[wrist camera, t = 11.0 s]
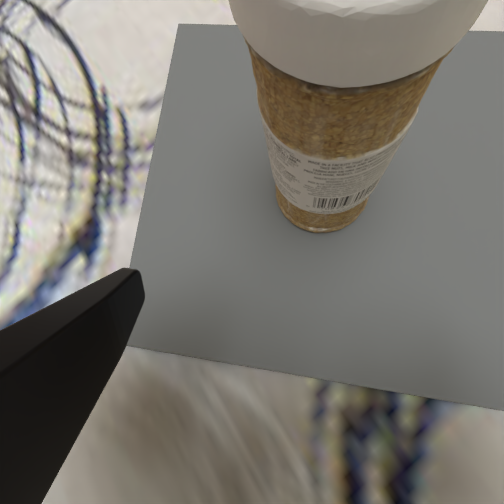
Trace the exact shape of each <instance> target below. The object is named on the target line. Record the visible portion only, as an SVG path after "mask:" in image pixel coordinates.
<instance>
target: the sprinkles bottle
mask: <svg viewBox="0 0 504 504" xmlns="http://www.w3.org/2000/svg"><path fill="white" fill-rule="evenodd" d="M487 1H488V0H229V4H230V8H231V11H232V14H233V18H234V20H235V22H236V24H237V26H238V28H239V30H240V31H241V33H242V34H243V37H244V39H245V42H246V44H247V46H248V48H249V53H250V57H251V60H252V67H253V74H254V77H255V81H256V84H257V101H258V106H259V111H260V115H261V120H262V125H263V129H264V134H265V139H266V144H267V149H268V154H269V159H270V164H271V169H272V174H273V178H274V180H275V183H276V198H277V202H278V205H279V207H280V209H281V211H282V213H283V214H284V216H285V217H286V218H287V219H289V220H290V221H291V222H292V223H293V224H294V225H296V226H298V227H299V228H301V229H304V230H307V231H310V232H315V233H322V232H324V233H327V232H331V231H337V230H340V229H342V228H344V227H346V226H347V225H349V224H351V223H352V222H353V221H355V220H356V219H357V217H358V216H359V214H360V213H361V212H362V211H363V210H364V208H365V206H366V204H367V202H368V198H369V195H370V194H371V193H372V191H373V190H374V189H375V187H376V186H377V184H378V182H379V180H380V179H381V177H382V175H383V174H384V172H385V170H386V168H387V167H388V165H389V163H390V162H391V160H392V158H393V156H394V154H395V153H396V151H397V149H398V147H399V146H400V144H401V142H402V140H403V139H404V137H405V135H406V133H407V132H408V130H409V128H410V126H411V124H412V122H413V120H414V119H415V117H416V115H417V113H418V107H419V104H420V101H421V99H422V97H423V96H424V94H425V92H426V90H427V88H428V86H429V84H430V82H431V80H432V78H433V77H434V75H435V73H436V71H437V69H438V67H439V66H440V64H441V62H442V60H443V59H444V58H445V57H446V56H447V55H448V54H449V53H450V52H451V51H452V49H453V48H454V46H455V45H456V44H457V43H458V42H459V41H460V40H461V39H462V37H463V36H464V35H465V34H466V33H467V32H468V31H469V29H470V28H471V27H472V26H473V24H474V23H475V21H476V20H477V18H478V17H479V15H480V13H481V12H482V10H483V8H484V7H485V5H486V3H487Z"/></svg>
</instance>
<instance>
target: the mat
mask: <svg viewBox="0 0 504 504" xmlns="http://www.w3.org/2000/svg"><path fill="white" fill-rule="evenodd" d="M130 268H131V269H137V270H139V271H140V273H141V276H142V281H143V286H144V291H145V301H144V304H143V306H142V309H141V311H140V314H139V316H138V318H137V321H136V323H135V326H134V328H133V331H132V333H131V336H130V338H129V340H128V343H127V345H126V346H131V347H137V348H143V349H149V350H155V351H160V352H166V353H172V354H178V355H183V356H189V357H195V358H201V359H207V360H212V361H218V362H224V363H230V364H236V365H241V366H247V367H253V368H259V369H264V370H270V371H276V372H282V373H288V374H293V375H299V376H305V377H311V378H317V379H322V380H328V381H334V382H340V383H346V384H351V385H357V386H363V387H369V388H374V389H380V390H386V391H392V392H398V393H403V394H409V395H415V396H421V397H427V398H432V399H438V400H444V401H450V402H455V403H461V404H467V405H473V406H479V407H484V408H490V409H496V410H502V411H504V32H500V31H468V32H467V33H466V34H465V35H464V36H463V37H462V39H461V40H460V41H459V42H458V43H457V44H456V45H455V46H454V48H453V49H452V51H451V52H450V53H449V54H448V55H447V56H446V57H445V58H444V59H443V60H442V62H441V64H440V66H439V67H438V69H437V71H436V73H435V75H434V77H433V78H432V80H431V82H430V84H429V86H428V88H427V90H426V92H425V94H424V96H423V97H422V99H421V101H420V104H419V107H418V113H417V115H416V117H415V119H414V120H413V122H412V124H411V126H410V128H409V130H408V132H407V133H406V135H405V137H404V139H403V140H402V142H401V144H400V146H399V147H398V149H397V151H396V153H395V154H394V156H393V158H392V160H391V162H390V163H389V165H388V167H387V168H386V170H385V172H384V174H383V175H382V177H381V179H380V180H379V182H378V184H377V186H376V187H375V189H374V190H373V191H372V193H371V194H370V195H369V198H368V202H367V204H366V206H365V208H364V210H363V211H362V212H361V213H360V214H359V216H358V217H357V219H356V220H355V221H353V222H352V223H351V224H349V225H347V226H346V227H344V228H342V229H340V230H337V231H331V232H327V233H324V232H322V233H315V232H310V231H307V230H304V229H301V228H299V227H298V226H296V225H294V224H293V223H292V222H291V221H290V220H289V219H287V218H286V217H285V216H284V214H283V213H282V211H281V209H280V207H279V205H278V202H277V198H276V183H275V180H274V178H273V174H272V169H271V164H270V159H269V154H268V149H267V144H266V139H265V134H264V129H263V125H262V120H261V115H260V111H259V106H258V101H257V84H256V81H255V77H254V74H253V67H252V60H251V57H250V53H249V48H248V46H247V44H246V42H245V39H244V37H243V34H242V33H241V31H240V30H239V28H238V26H237V25H210V24H178V29H177V34H176V39H175V44H174V49H173V54H172V59H171V64H170V69H169V74H168V79H167V84H166V89H165V94H164V99H163V104H162V109H161V114H160V119H159V124H158V129H157V134H156V138H155V143H154V148H153V153H152V158H151V163H150V168H149V173H148V178H147V183H146V188H145V193H144V198H143V203H142V208H141V213H140V218H139V223H138V228H137V233H136V238H135V243H134V248H133V253H132V258H131V263H130Z"/></svg>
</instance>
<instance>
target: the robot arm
mask: <svg viewBox="0 0 504 504" xmlns="http://www.w3.org/2000/svg"><path fill="white" fill-rule="evenodd" d="M144 301H145V291H144V286H143V281H142V276H141V273H140V271H139V270H137V269H131V268H122V269H120V270H118V271H116V272H114V273H112V274H110V275H108V276H106V277H104V278H102V279H100V280H98V281H96V282H94V283H92V284H90V285H88V286H86V287H84V288H82V289H80V290H78V291H77V292H75V293H73V294H71V295H69V296H67V297H65V298H63V299H61V300H59V301H57V302H55V303H53V304H51V305H49V306H47V307H45V308H43V309H41V310H39V311H37V312H35V313H34V314H32V315H30V316H28V317H26V318H24V319H22V320H20V321H18V322H16V323H14V324H12V325H10V326H8V327H6V328H4V329H2V330H0V504H41V503H42V502H43V500H44V498H45V496H46V494H47V492H48V491H49V489H50V487H51V485H52V483H53V481H54V479H55V478H56V476H57V474H58V472H59V470H60V468H61V467H62V465H63V463H64V461H65V459H66V457H67V456H68V454H69V452H70V450H71V448H72V446H73V445H74V443H75V441H76V439H77V437H78V435H79V434H80V432H81V430H82V428H83V426H84V424H85V423H86V421H87V419H88V417H89V415H90V413H91V412H92V410H93V408H94V406H95V404H96V402H97V400H98V399H99V397H100V395H101V393H102V391H103V389H104V388H105V386H106V384H107V382H108V380H109V378H110V377H111V375H112V373H113V371H114V369H115V367H116V366H117V364H118V362H119V360H120V358H121V356H122V354H123V352H124V350H125V348H126V345H127V343H128V340H129V338H130V336H131V333H132V331H133V328H134V326H135V323H136V321H137V318H138V316H139V314H140V311H141V309H142V306H143V304H144Z"/></svg>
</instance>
